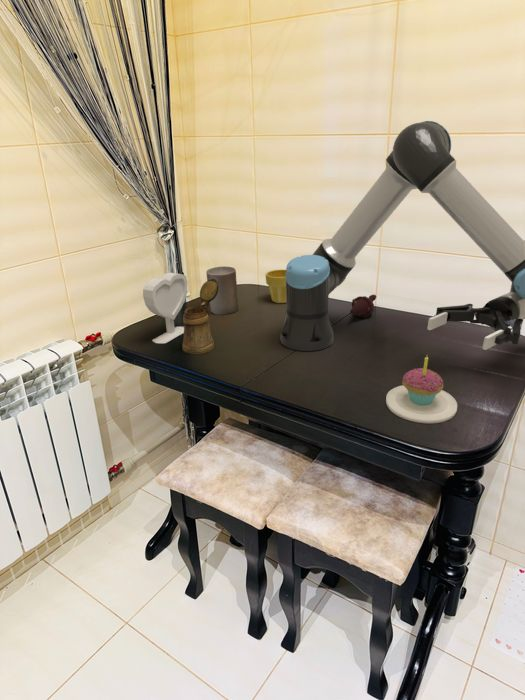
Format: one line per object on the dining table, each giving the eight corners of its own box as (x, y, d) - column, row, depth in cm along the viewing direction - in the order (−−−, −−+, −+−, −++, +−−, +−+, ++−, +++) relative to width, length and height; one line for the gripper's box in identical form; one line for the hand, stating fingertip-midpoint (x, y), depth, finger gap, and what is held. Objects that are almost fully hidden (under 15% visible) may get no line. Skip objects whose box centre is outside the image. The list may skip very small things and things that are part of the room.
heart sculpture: (160, 345, 144) (153, 285, 137) (147, 342, 147) (139, 283, 139) (193, 327, 157) (188, 270, 149) (180, 324, 159) (174, 268, 151)
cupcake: (442, 411, 107) (450, 361, 102) (401, 408, 108) (406, 358, 103) (438, 391, 114) (445, 343, 109) (399, 389, 116) (404, 341, 111)
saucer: (378, 414, 109) (378, 409, 108) (394, 383, 121) (394, 378, 120) (451, 430, 103) (452, 425, 102) (460, 395, 115) (461, 391, 114)
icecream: (364, 307, 150) (386, 297, 162) (344, 296, 154) (367, 287, 165) (357, 327, 154) (379, 316, 165) (337, 316, 157) (360, 306, 168)
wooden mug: (230, 339, 147) (227, 280, 139) (200, 357, 137) (194, 293, 129) (207, 333, 152) (202, 275, 144) (175, 350, 142) (169, 288, 134)
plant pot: (267, 295, 182) (267, 268, 178) (296, 295, 181) (296, 268, 177) (265, 305, 173) (264, 277, 169) (295, 305, 172) (295, 277, 168)
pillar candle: (241, 305, 173) (239, 262, 167) (233, 315, 164) (230, 270, 158) (214, 304, 175) (211, 262, 169) (205, 314, 167) (201, 270, 160)
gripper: (554, 341, 116) (507, 369, 104) (456, 311, 133) (406, 331, 121) (562, 311, 113) (515, 335, 101) (461, 284, 130) (410, 302, 118)
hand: (455, 333), depth 111 cm, fingers open, 13 cm apart
